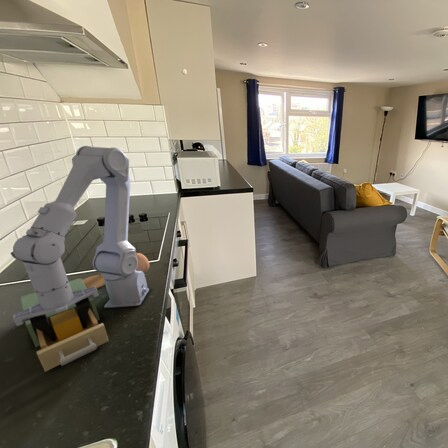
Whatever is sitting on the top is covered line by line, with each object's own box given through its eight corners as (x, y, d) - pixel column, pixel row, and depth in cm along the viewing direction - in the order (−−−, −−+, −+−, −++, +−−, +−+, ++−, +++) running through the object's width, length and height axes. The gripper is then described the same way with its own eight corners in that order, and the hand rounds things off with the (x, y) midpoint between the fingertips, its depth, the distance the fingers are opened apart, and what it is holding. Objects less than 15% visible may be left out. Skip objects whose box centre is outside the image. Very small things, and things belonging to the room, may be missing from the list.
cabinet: (100, 319, 70) (93, 299, 68) (35, 347, 61) (25, 325, 59) (86, 296, 79) (80, 277, 77) (29, 317, 70) (20, 297, 68)
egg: (152, 268, 95) (148, 247, 92) (149, 279, 88) (144, 257, 85) (129, 271, 92) (123, 250, 89) (124, 283, 86) (118, 260, 83)
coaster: (115, 274, 90) (115, 273, 90) (101, 290, 82) (101, 289, 82) (86, 276, 89) (86, 275, 89) (69, 292, 81) (69, 291, 81)
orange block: (83, 331, 64) (78, 316, 62) (59, 342, 60) (52, 327, 59) (79, 322, 67) (74, 307, 65) (55, 332, 63) (49, 317, 62)
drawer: (114, 350, 60) (109, 334, 58) (48, 384, 52) (39, 367, 50) (94, 314, 71) (89, 299, 69) (36, 337, 63) (29, 322, 61)
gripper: (5, 308, 51) (30, 360, 56) (95, 279, 61) (109, 324, 66) (4, 293, 55) (26, 342, 60) (88, 268, 65) (101, 311, 70)
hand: (69, 332), depth 63 cm, fingers closed on drawer, 5 cm apart
